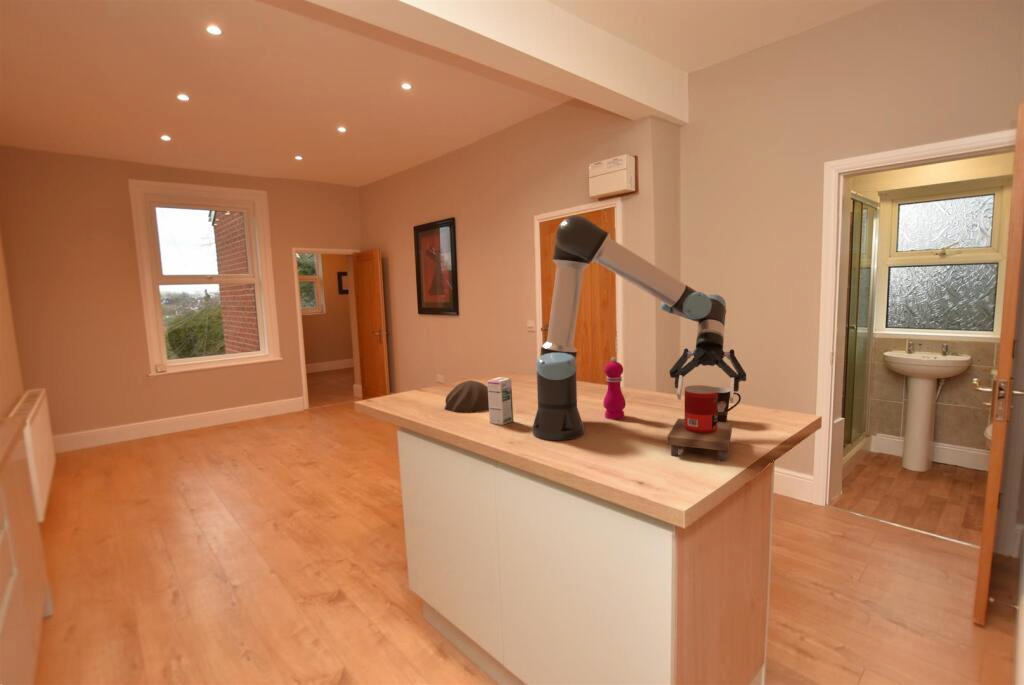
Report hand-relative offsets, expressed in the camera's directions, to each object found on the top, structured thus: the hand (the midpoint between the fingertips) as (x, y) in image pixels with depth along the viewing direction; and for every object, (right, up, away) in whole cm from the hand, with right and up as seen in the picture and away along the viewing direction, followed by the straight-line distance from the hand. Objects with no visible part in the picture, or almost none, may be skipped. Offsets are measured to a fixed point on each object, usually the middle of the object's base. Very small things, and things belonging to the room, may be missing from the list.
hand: (704, 398), depth 133 cm
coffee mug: (+12, -9, +17) cm, 22 cm away
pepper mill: (-19, -9, +27) cm, 34 cm away
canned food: (-4, -7, -7) cm, 11 cm away
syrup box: (-57, -11, +26) cm, 63 cm away
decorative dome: (-69, -9, +50) cm, 86 cm away
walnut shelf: (-4, -12, -7) cm, 14 cm away
